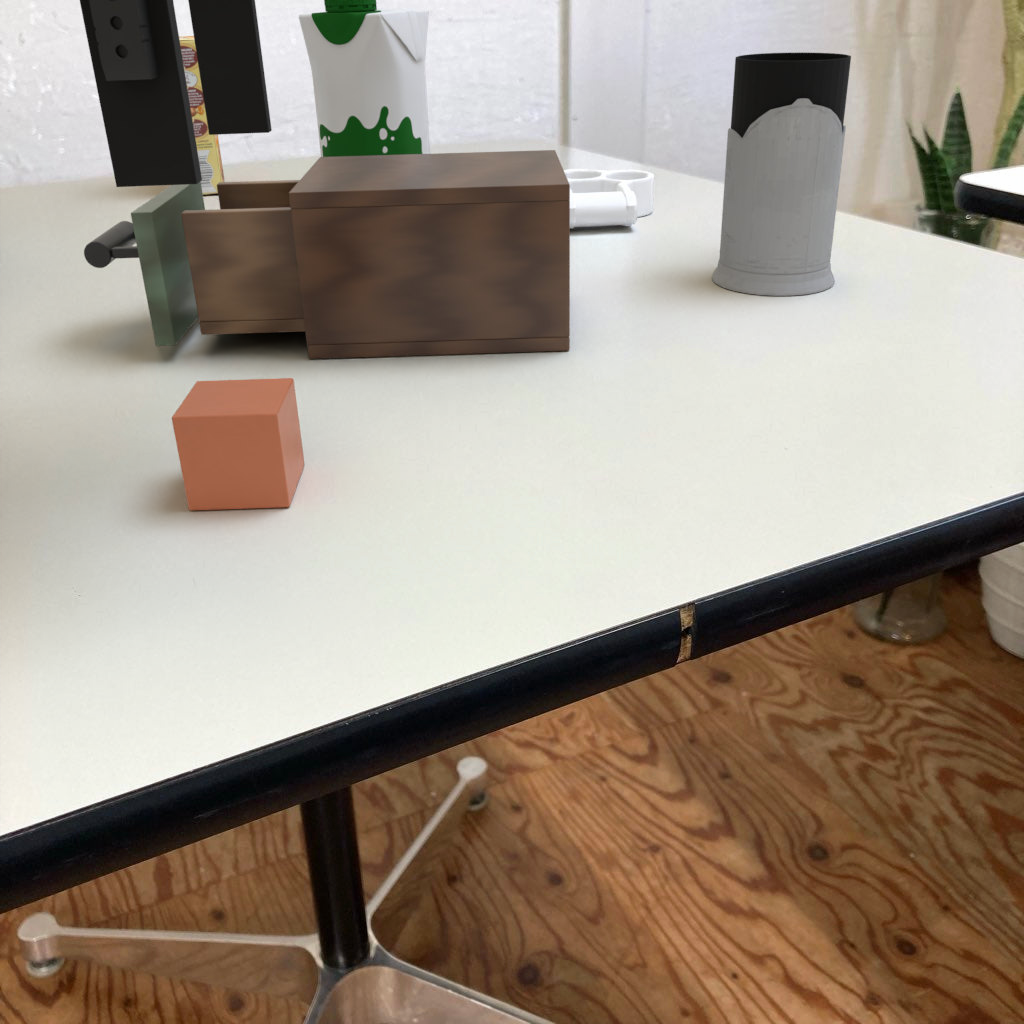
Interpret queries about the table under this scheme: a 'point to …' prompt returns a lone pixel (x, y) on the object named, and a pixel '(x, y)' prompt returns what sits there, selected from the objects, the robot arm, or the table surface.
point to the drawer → (212, 259)
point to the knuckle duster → (609, 196)
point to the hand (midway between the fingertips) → (206, 155)
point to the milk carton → (368, 78)
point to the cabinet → (433, 254)
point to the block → (239, 444)
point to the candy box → (201, 121)
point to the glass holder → (782, 173)
